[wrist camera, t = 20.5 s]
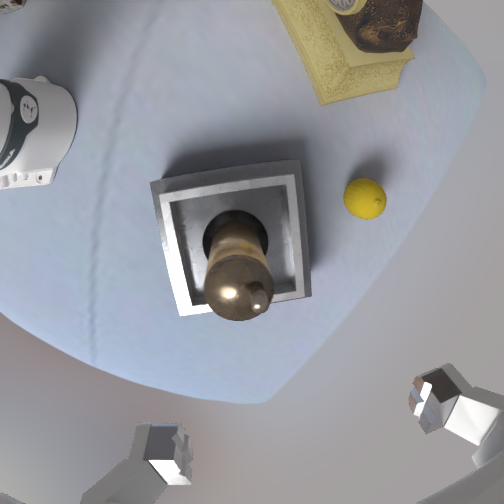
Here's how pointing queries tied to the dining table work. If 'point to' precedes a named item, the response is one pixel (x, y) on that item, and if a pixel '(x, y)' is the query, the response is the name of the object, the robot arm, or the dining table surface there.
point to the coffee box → (10, 5)
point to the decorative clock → (351, 43)
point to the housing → (234, 209)
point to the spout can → (237, 274)
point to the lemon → (365, 198)
